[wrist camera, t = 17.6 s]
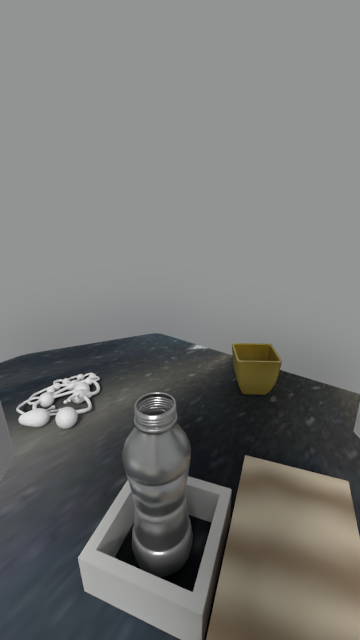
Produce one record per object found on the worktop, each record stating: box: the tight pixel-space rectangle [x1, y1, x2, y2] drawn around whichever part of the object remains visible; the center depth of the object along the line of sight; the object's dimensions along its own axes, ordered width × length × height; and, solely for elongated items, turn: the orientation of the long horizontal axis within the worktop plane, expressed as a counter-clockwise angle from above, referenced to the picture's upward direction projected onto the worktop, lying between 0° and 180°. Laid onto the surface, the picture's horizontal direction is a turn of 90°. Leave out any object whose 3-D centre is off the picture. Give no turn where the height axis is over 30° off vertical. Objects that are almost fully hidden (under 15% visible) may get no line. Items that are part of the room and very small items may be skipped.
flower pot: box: [232, 343, 282, 395], centre depth 62 cm, size 9×9×9 cm
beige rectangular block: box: [206, 455, 360, 640], centre depth 27 cm, size 22×12×6 cm, turn 160°
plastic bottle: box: [122, 392, 193, 577], centre depth 29 cm, size 6×7×20 cm
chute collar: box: [78, 476, 232, 640], centre depth 32 cm, size 12×12×5 cm
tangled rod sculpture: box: [16, 373, 100, 429], centre depth 60 cm, size 19×14×4 cm
